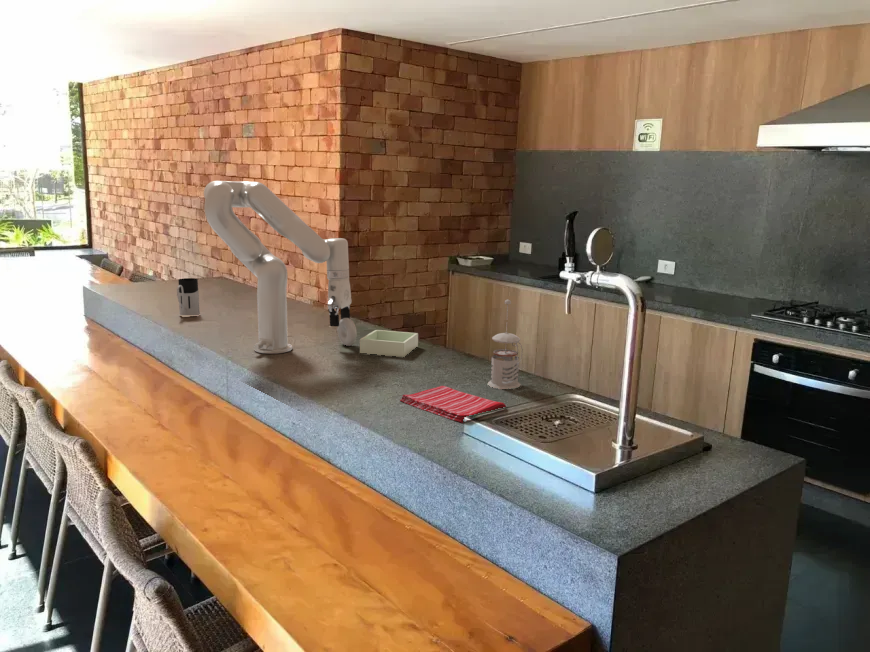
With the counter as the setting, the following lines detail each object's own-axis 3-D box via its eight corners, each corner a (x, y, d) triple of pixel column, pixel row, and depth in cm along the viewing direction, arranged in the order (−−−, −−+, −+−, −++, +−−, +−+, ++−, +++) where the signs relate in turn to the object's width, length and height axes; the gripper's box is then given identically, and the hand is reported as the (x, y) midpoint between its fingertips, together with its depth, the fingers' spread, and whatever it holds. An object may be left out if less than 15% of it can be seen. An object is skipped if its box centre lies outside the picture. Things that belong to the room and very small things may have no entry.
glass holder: (204, 313, 298) (202, 278, 295) (189, 320, 285) (187, 283, 281) (184, 312, 299) (182, 277, 296) (168, 319, 285) (166, 282, 282)
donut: (335, 343, 250) (335, 315, 248) (344, 342, 252) (344, 315, 250) (350, 349, 243) (350, 320, 241) (358, 348, 245) (358, 319, 243)
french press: (480, 384, 205) (483, 298, 200) (506, 377, 213) (509, 294, 208) (506, 391, 198) (510, 303, 193) (532, 384, 206) (536, 299, 201)
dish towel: (463, 426, 171) (463, 416, 171) (398, 403, 188) (398, 393, 187) (508, 411, 183) (509, 401, 183) (443, 390, 200) (443, 381, 199)
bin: (404, 357, 233) (404, 342, 232) (359, 353, 237) (359, 339, 236) (417, 347, 248) (418, 333, 247) (375, 343, 252) (375, 329, 251)
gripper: (338, 278, 234) (340, 329, 238) (357, 271, 251) (359, 318, 254) (317, 278, 236) (319, 328, 240) (337, 270, 253) (339, 317, 256)
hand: (340, 323), depth 247 cm, fingers open, 9 cm apart
